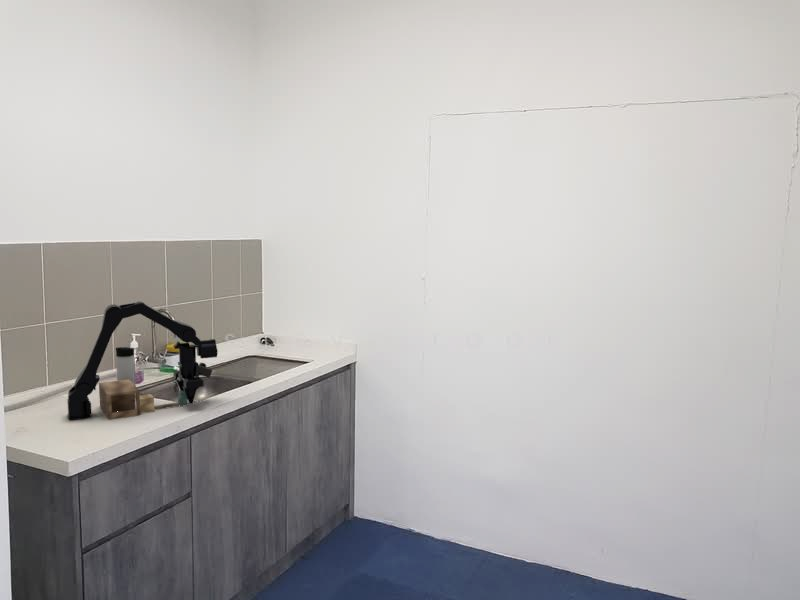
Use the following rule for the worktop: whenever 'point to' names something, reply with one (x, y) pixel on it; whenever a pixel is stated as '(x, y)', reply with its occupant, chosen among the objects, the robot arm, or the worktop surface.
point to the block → (148, 405)
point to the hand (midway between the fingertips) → (188, 401)
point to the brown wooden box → (119, 399)
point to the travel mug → (125, 364)
